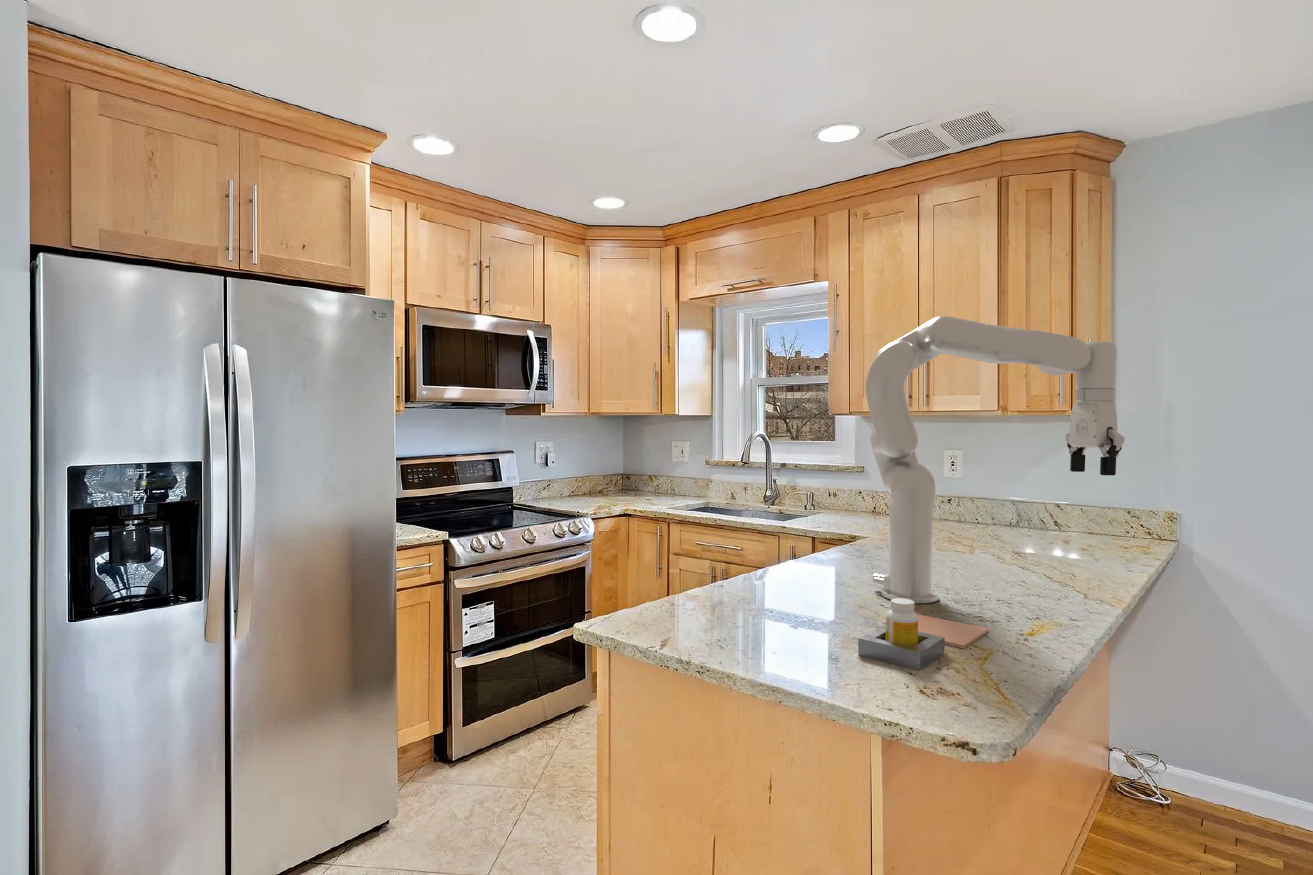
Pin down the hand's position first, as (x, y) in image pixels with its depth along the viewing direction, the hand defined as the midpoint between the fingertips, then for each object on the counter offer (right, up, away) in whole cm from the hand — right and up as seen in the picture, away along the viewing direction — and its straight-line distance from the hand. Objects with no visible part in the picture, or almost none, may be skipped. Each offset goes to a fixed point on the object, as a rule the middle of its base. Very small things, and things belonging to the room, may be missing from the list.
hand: (1092, 473), depth 155 cm
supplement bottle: (-55, -31, -33) cm, 71 cm away
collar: (-55, -30, -33) cm, 71 cm away
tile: (-43, -30, -20) cm, 56 cm away
